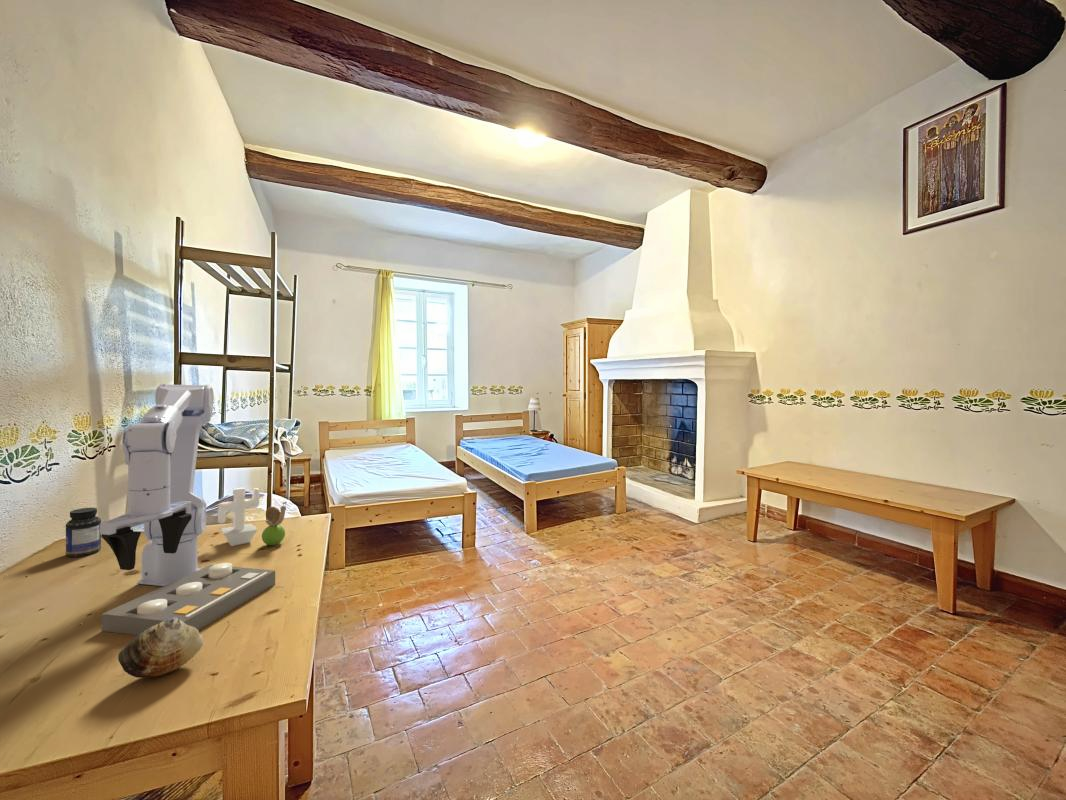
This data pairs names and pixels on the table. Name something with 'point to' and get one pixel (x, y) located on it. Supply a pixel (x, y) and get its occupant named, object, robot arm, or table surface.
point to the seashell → (161, 649)
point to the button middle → (188, 588)
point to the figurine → (239, 516)
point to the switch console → (191, 600)
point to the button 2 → (220, 571)
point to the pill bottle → (83, 533)
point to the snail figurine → (274, 526)
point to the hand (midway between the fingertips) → (149, 560)
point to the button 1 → (151, 606)
